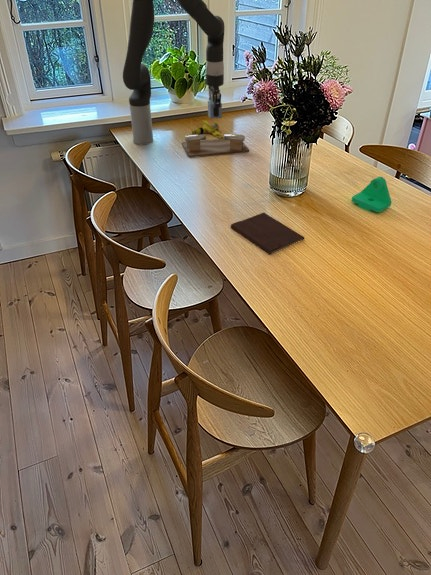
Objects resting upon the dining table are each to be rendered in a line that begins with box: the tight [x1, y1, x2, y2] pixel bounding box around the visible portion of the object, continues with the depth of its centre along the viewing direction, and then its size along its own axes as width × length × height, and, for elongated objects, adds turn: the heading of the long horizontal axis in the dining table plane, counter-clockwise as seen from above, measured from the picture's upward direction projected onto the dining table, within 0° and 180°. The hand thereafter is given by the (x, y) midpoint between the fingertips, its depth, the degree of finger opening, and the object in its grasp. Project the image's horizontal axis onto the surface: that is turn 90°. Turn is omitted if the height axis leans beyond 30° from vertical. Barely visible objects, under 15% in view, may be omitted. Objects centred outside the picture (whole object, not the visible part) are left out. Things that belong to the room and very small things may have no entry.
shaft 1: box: [184, 133, 207, 142], centre depth 201 cm, size 2×9×2 cm, turn 104°
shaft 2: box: [223, 133, 246, 142], centre depth 201 cm, size 2×9×2 cm, turn 79°
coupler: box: [207, 100, 223, 119], centre depth 194 cm, size 5×5×6 cm
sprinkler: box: [191, 119, 224, 139], centre depth 220 cm, size 19×4×15 cm
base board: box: [181, 133, 250, 158], centre depth 204 cm, size 16×28×6 cm, turn 104°
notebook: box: [230, 212, 305, 256], centre depth 148 cm, size 15×20×2 cm
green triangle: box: [351, 176, 392, 213], centre depth 160 cm, size 12×8×10 cm, turn 42°
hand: (214, 114), depth 196 cm, fingers closed on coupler, 5 cm apart
